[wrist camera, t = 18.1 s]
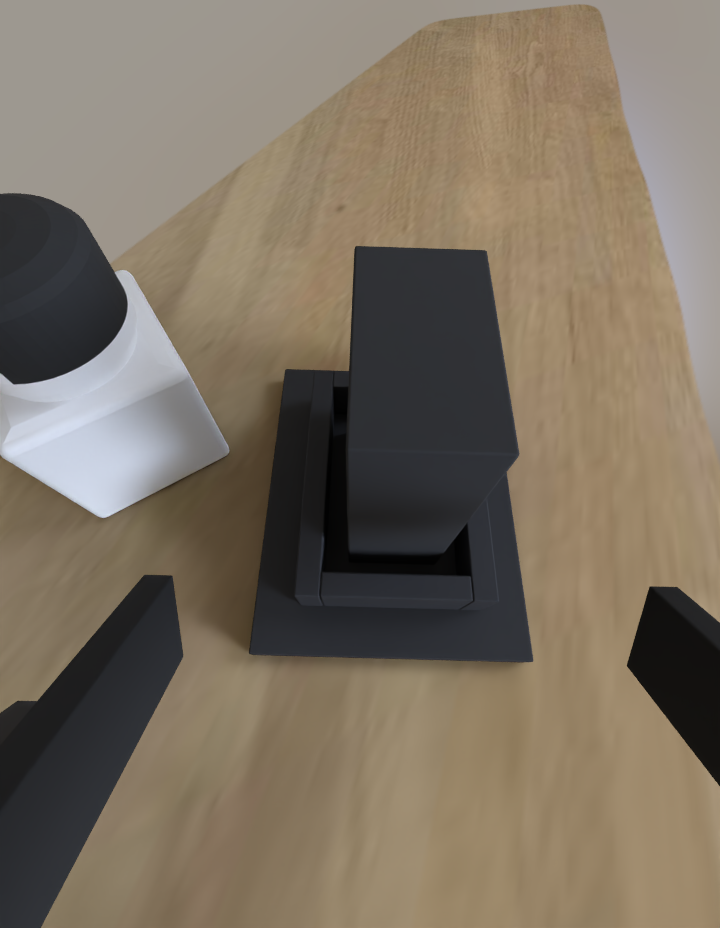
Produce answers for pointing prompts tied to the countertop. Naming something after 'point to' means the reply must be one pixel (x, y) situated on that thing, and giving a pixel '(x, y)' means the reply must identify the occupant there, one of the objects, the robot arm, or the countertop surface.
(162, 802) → the countertop surface
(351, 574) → the base pad
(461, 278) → the upright block
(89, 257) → the medicine bottle
